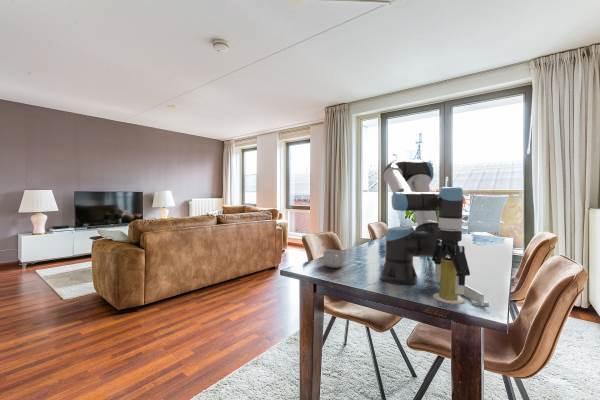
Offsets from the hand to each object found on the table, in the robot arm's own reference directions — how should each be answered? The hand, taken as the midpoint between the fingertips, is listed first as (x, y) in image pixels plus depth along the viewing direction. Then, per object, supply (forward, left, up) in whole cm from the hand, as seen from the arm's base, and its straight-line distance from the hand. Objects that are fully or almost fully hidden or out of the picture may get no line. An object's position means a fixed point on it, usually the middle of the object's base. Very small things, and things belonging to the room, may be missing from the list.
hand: (448, 287), depth 102 cm
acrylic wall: (+8, +6, -4) cm, 11 cm away
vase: (0, 0, -4) cm, 4 cm away
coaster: (0, 0, -4) cm, 4 cm away
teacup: (-36, +42, -4) cm, 55 cm away
